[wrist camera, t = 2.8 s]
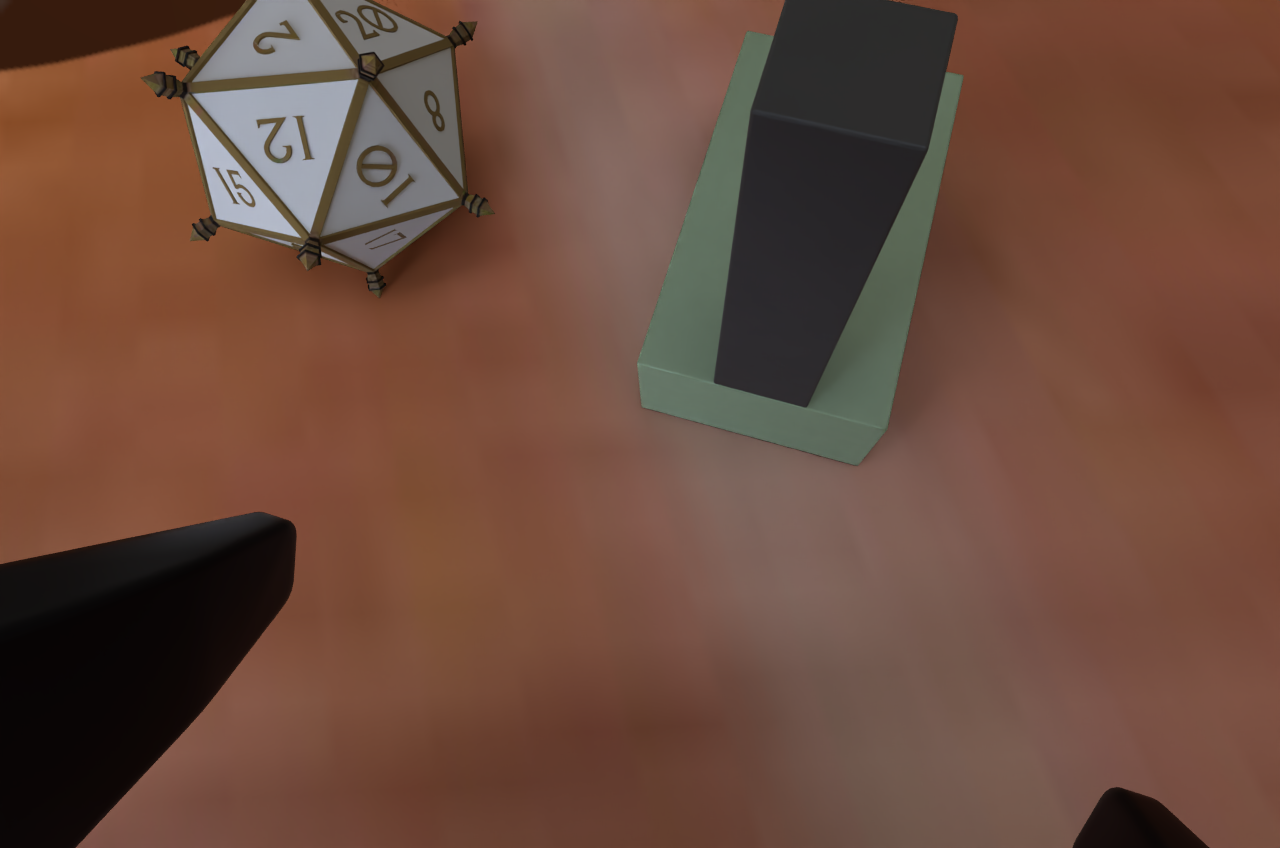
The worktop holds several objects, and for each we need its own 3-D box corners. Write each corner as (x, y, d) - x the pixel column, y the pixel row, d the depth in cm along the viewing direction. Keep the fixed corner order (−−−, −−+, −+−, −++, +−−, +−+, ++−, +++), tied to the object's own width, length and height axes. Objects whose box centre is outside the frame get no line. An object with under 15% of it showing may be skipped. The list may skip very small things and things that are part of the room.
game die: (396, 231, 30) (316, -84, 24) (575, 267, 26) (527, -106, 20) (169, 331, 24) (-7, -58, 18) (354, 399, 20) (198, -82, 14)
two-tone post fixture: (858, 466, 22) (1087, 184, 10) (641, 407, 23) (607, 80, 11) (929, 147, 26) (1166, -354, 13) (738, 105, 27) (796, -404, 14)
